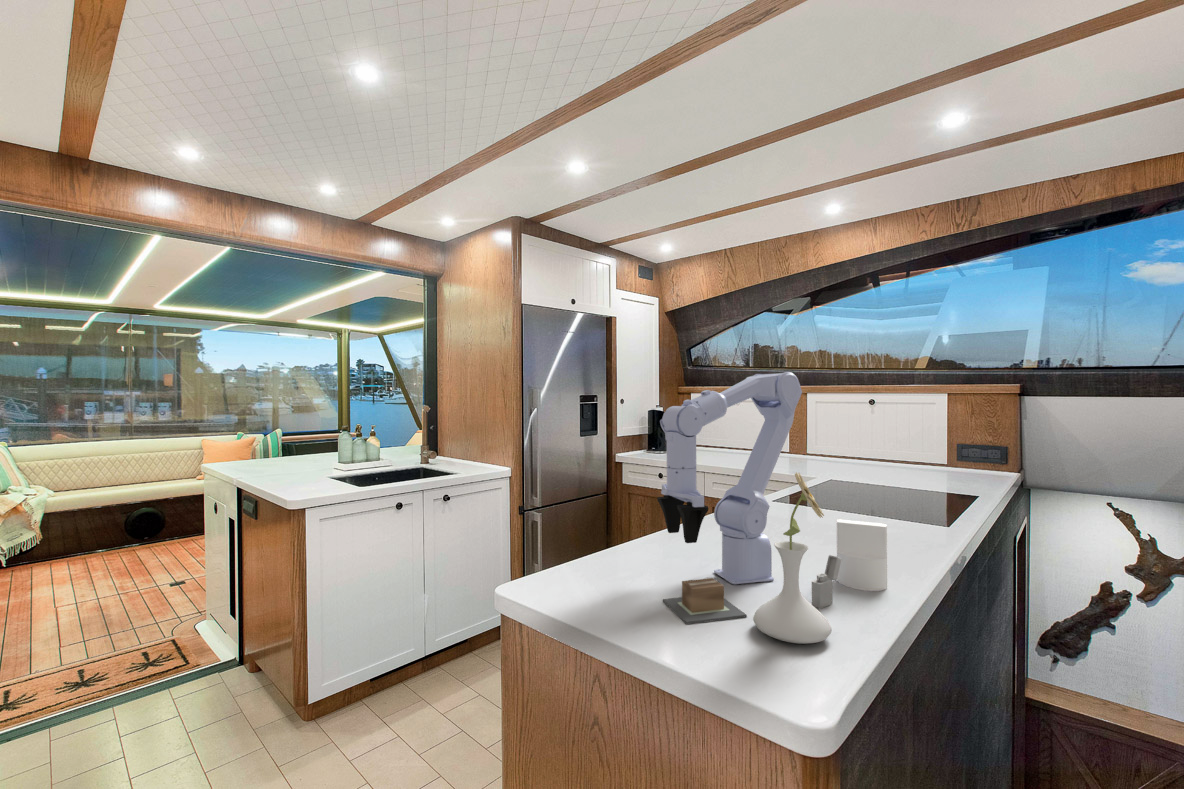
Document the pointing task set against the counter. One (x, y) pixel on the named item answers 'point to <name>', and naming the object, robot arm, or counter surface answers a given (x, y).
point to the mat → (704, 616)
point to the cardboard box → (702, 595)
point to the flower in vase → (793, 592)
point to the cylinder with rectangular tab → (862, 554)
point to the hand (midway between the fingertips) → (681, 537)
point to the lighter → (825, 583)
